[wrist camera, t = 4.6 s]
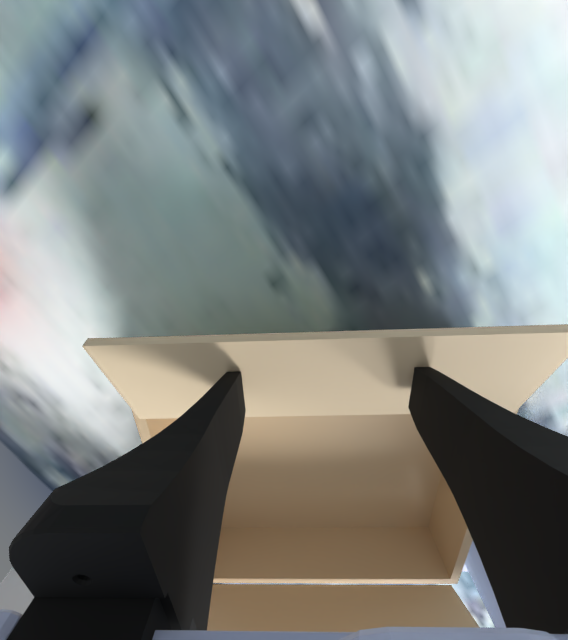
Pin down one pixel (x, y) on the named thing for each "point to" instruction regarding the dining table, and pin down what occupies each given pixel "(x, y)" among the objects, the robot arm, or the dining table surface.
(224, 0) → the dining table surface
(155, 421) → the carton
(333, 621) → the back flap
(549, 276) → the dining table surface
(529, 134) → the dining table surface
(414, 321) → the dining table surface
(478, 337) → the front flap
